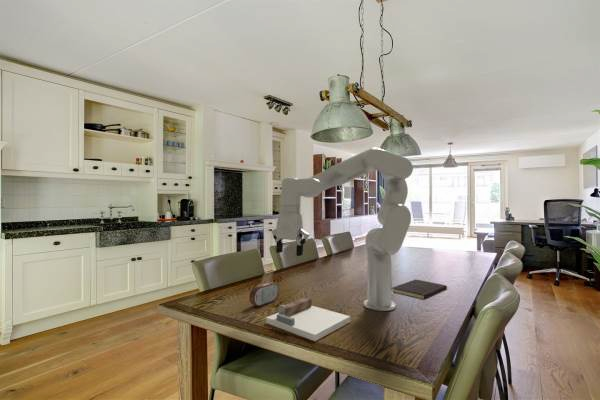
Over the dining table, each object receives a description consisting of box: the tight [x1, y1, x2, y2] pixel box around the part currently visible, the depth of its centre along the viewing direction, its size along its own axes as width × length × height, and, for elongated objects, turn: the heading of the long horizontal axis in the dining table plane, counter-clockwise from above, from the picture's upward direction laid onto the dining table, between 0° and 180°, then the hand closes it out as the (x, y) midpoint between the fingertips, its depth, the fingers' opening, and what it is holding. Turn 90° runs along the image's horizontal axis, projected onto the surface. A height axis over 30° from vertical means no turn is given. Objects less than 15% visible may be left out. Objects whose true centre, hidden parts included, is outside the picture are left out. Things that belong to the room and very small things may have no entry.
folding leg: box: [278, 297, 312, 316], centre depth 116 cm, size 16×3×4 cm, turn 139°
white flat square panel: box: [265, 305, 351, 342], centre depth 111 cm, size 20×22×4 cm
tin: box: [248, 281, 279, 307], centre depth 132 cm, size 15×3×8 cm, turn 141°
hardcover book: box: [392, 278, 448, 300], centre depth 150 cm, size 16×23×2 cm
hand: (289, 253), depth 122 cm, fingers open, 9 cm apart
